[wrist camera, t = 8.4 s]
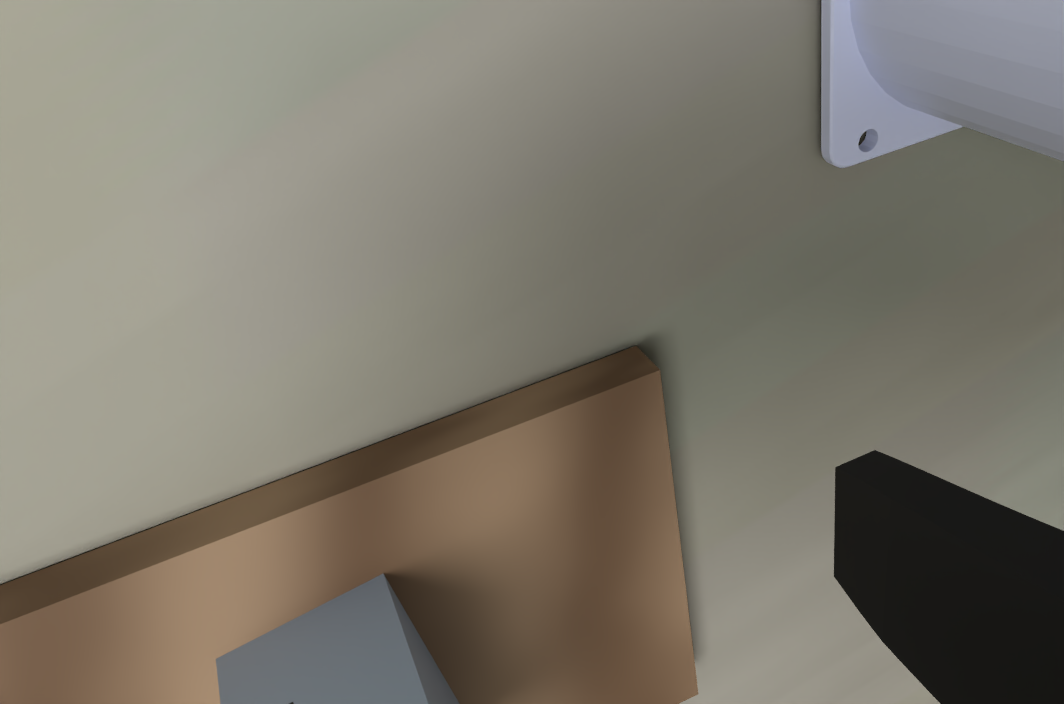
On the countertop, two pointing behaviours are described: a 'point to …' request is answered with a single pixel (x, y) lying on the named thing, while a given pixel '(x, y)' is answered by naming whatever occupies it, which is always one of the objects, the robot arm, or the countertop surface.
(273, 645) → the carton
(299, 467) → the countertop surface
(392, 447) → the shelf board
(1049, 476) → the countertop surface
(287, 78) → the countertop surface
